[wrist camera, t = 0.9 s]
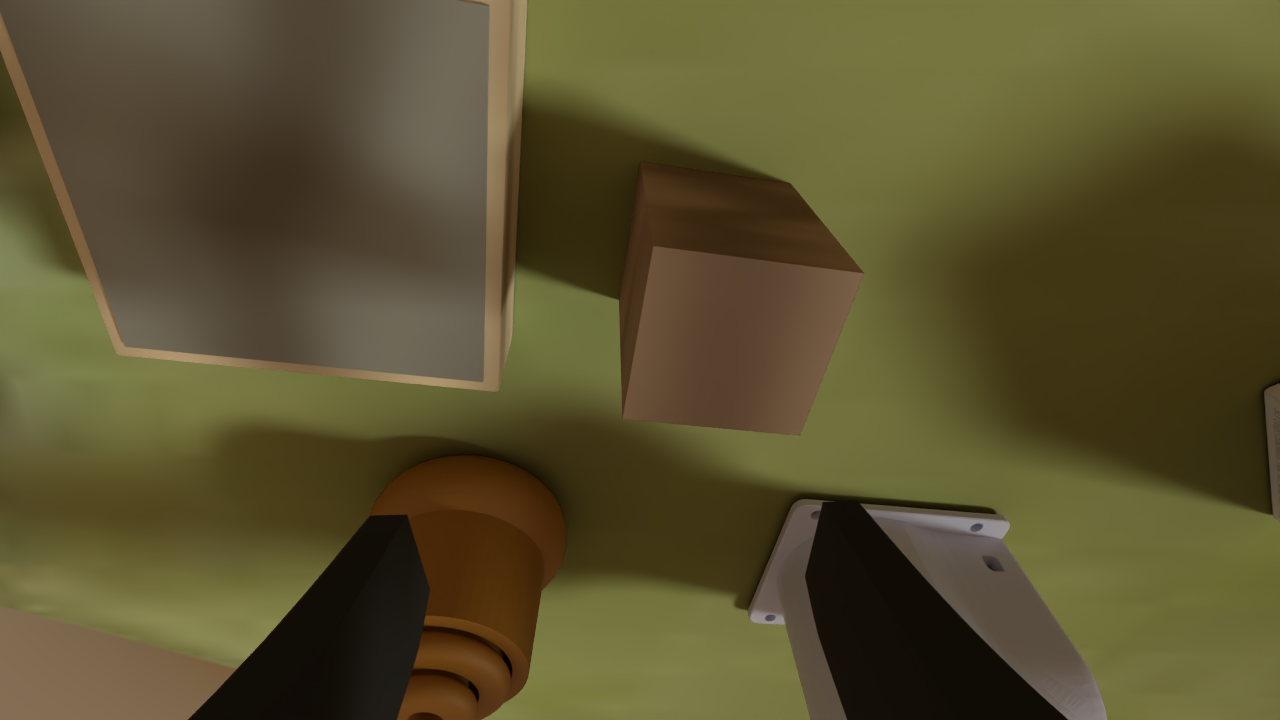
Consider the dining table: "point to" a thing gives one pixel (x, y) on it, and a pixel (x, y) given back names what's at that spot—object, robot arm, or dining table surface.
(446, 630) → the ornamental finial
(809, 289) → the walnut block
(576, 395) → the dining table surface
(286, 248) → the wooden framed grey panel
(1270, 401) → the supplement box
